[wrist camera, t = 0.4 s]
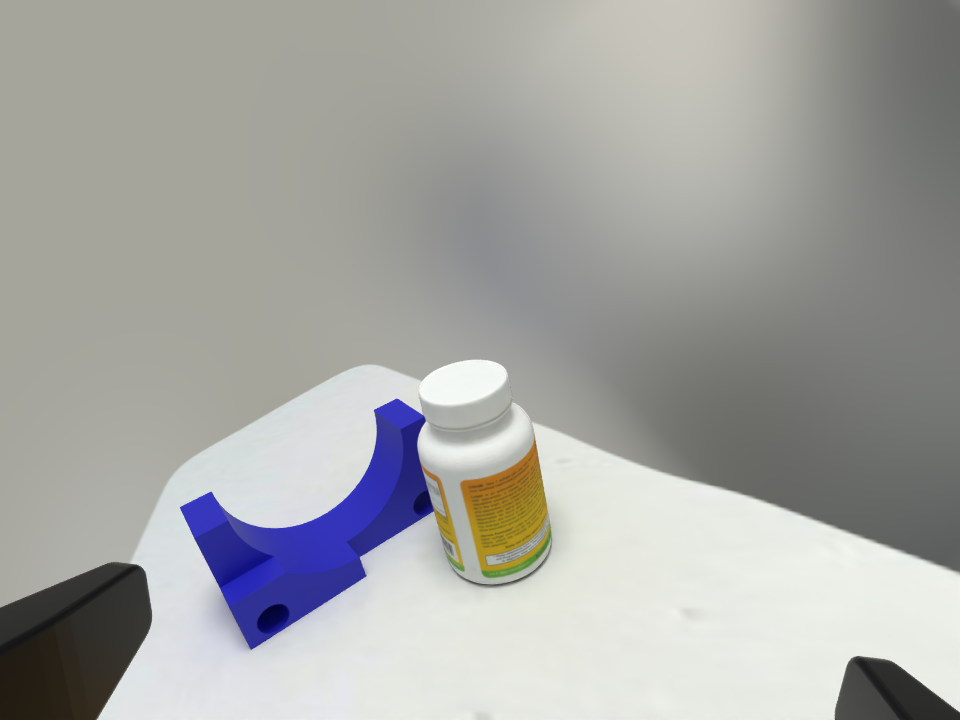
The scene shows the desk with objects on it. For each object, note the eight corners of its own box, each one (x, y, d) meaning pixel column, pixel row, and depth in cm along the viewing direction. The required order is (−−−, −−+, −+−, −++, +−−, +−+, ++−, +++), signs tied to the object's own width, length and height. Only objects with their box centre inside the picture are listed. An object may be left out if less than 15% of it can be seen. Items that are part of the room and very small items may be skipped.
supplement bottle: (567, 519, 32) (542, 354, 28) (528, 600, 28) (491, 420, 23) (476, 502, 34) (440, 348, 30) (427, 573, 30) (377, 407, 26)
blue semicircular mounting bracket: (252, 652, 28) (202, 556, 26) (225, 597, 32) (179, 507, 29) (463, 517, 34) (440, 426, 31) (420, 482, 37) (397, 398, 35)
